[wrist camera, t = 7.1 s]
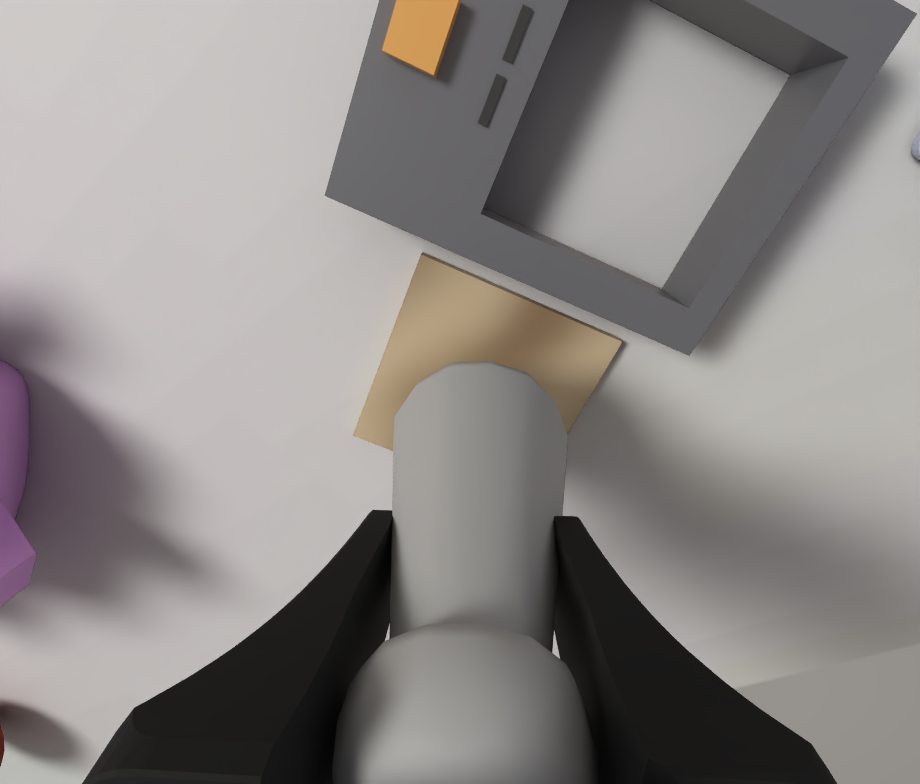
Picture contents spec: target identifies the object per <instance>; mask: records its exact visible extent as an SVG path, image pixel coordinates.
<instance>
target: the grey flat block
mask: <svg viewBox="0 0 920 784" xmlns="http://www.w3.org/2000/svg"><path fill="white" fill-rule="evenodd" d="M568 1H569V0H379V4H378V7H377V11H376V14H375V18H374V21H373V25H372V29H371V32H370V36H369V39H368V43H367V46H366V50H365V54H364V57H363V61H362V64H361V68H360V71H359V75H358V79H357V82H356V86H355V89H354V93H353V96H352V100H351V104H350V107H349V111H348V114H347V118H346V121H345V125H344V129H343V132H342V136H341V139H340V143H339V147H338V150H337V154H336V157H335V161H334V164H333V168H332V172H331V175H330V179H329V182H328V186H327V189H326V193H325V196H327V197H329V198H331V199H334V200H336V201H338V202H340V203H343V204H345V205H347V206H350V207H352V208H354V209H356V210H359V211H361V212H363V213H365V214H368V215H370V216H372V217H375V218H377V219H379V220H381V221H384V222H386V223H388V224H391V225H393V226H395V227H397V228H400V229H402V230H404V231H406V232H409V233H411V234H413V235H416V236H418V237H420V238H422V239H425V240H427V241H429V242H431V243H434V244H436V245H438V246H441V247H443V248H445V249H447V250H450V251H452V252H454V253H457V254H459V255H461V256H463V257H466V258H468V259H470V260H472V261H475V262H477V263H479V264H482V265H484V266H486V267H488V268H491V269H493V270H495V271H498V272H500V273H502V274H504V275H507V276H509V277H511V278H513V279H516V280H518V281H520V282H523V283H525V284H527V285H529V286H532V287H534V288H536V289H538V290H541V291H543V292H545V293H548V294H550V295H552V296H554V297H557V298H559V299H561V300H564V301H566V302H568V303H570V304H573V305H575V306H577V307H579V308H582V309H584V310H586V311H589V312H591V313H593V314H595V315H598V316H600V317H602V318H605V319H607V320H609V321H611V322H614V323H616V324H618V325H620V326H623V327H625V328H627V329H630V330H632V331H634V332H636V333H639V334H641V335H643V336H645V337H648V338H650V339H652V340H655V341H657V342H659V343H661V344H664V345H666V346H668V347H671V348H673V349H675V350H677V351H680V352H682V353H684V354H686V355H689V356H690V354H691V353H692V351H693V350H694V348H695V347H696V345H697V344H698V342H699V341H700V339H701V338H702V336H703V335H704V333H705V332H706V330H707V329H708V327H709V326H710V324H711V323H712V321H713V320H714V318H715V317H716V315H717V314H718V312H719V311H720V309H721V308H722V306H723V305H724V303H725V302H726V300H727V299H728V297H729V296H730V294H731V293H732V291H733V290H734V288H735V287H736V285H737V284H738V282H739V281H740V279H741V278H742V276H743V275H744V273H745V272H746V270H747V269H748V267H749V265H750V264H751V262H752V261H753V259H754V258H755V256H756V255H757V253H758V252H759V250H760V249H761V247H762V246H763V244H764V243H765V241H766V240H767V238H768V237H769V235H770V234H771V232H772V231H773V229H774V228H775V226H776V225H777V223H778V222H779V220H780V219H781V217H782V216H783V214H784V213H785V211H786V210H787V208H788V207H789V205H790V204H791V202H792V201H793V199H794V198H795V196H796V195H797V193H798V192H799V190H800V189H801V187H802V186H803V184H804V183H805V181H806V180H807V178H808V177H809V175H810V174H811V172H812V171H813V169H814V168H815V166H816V165H817V163H818V162H819V160H820V159H821V157H822V156H823V154H824V153H825V151H826V150H827V148H828V147H829V145H830V144H831V142H832V141H833V139H834V138H835V136H836V135H837V133H838V132H839V130H840V129H841V127H842V126H843V124H844V123H845V121H846V120H847V118H848V117H849V115H850V114H851V112H852V111H853V109H854V108H855V106H856V105H857V103H858V102H859V100H860V99H861V97H862V96H863V94H864V93H865V91H866V90H867V88H868V87H869V85H870V84H871V82H872V81H873V79H874V78H875V76H876V75H877V73H878V72H879V70H880V69H881V67H882V66H883V64H884V63H885V61H886V60H887V58H888V57H889V55H890V54H891V52H892V51H893V49H894V48H895V46H896V45H897V43H898V42H899V40H900V39H901V37H902V36H903V34H904V33H905V31H906V30H907V28H908V27H909V25H910V23H911V22H912V20H913V19H914V17H915V16H916V14H917V13H915V12H913V11H911V10H909V9H908V8H906V7H904V6H902V5H901V4H899V3H897V2H895V1H894V0H650V1H652V2H654V3H656V4H658V5H660V6H662V7H664V8H666V9H667V10H669V11H671V12H673V13H675V14H677V15H679V16H681V17H682V18H684V19H686V20H688V21H690V22H692V23H694V24H696V25H698V26H699V27H701V28H703V29H705V30H707V31H709V32H711V33H713V34H715V35H716V36H718V37H720V38H722V39H724V40H726V41H728V42H730V43H732V44H733V45H735V46H737V47H739V48H741V49H743V50H745V51H747V52H749V53H750V54H752V55H754V56H756V57H758V58H760V59H762V60H764V61H766V62H767V63H769V64H771V65H773V66H775V67H777V68H779V69H781V70H783V71H784V72H786V73H788V74H790V77H789V79H788V80H787V82H786V84H785V85H784V87H783V89H782V90H781V92H780V94H779V95H778V97H777V99H776V100H775V102H774V104H773V105H772V107H771V109H770V110H769V112H768V114H767V115H766V117H765V119H764V120H763V122H762V124H761V125H760V127H759V129H758V130H757V132H756V134H755V135H754V137H753V139H752V140H751V142H750V144H749V145H748V147H747V149H746V150H745V152H744V154H743V155H742V157H741V159H740V160H739V162H738V164H737V165H736V167H735V169H734V170H733V172H732V174H731V175H730V177H729V179H728V180H727V182H726V183H725V185H724V187H723V188H722V190H721V192H720V193H719V195H718V197H717V198H716V200H715V202H714V203H713V205H712V207H711V208H710V210H709V212H708V213H707V215H706V217H705V218H704V220H703V222H702V223H701V225H700V227H699V228H698V230H697V232H696V233H695V235H694V237H693V238H692V240H691V242H690V243H689V245H688V247H687V248H686V250H685V252H684V253H683V255H682V257H681V258H680V260H679V262H678V263H677V265H676V267H675V268H674V270H673V272H672V273H671V275H670V277H669V278H668V280H667V282H666V283H665V285H664V287H663V288H662V289H661V288H659V287H656V286H654V285H652V284H650V283H648V282H645V281H643V280H641V279H639V278H637V277H634V276H632V275H630V274H628V273H626V272H623V271H621V270H619V269H617V268H615V267H612V266H610V265H608V264H606V263H604V262H601V261H599V260H597V259H595V258H593V257H590V256H588V255H586V254H584V253H582V252H579V251H577V250H575V249H573V248H571V247H568V246H566V245H564V244H562V243H560V242H557V241H555V240H553V239H551V238H548V237H546V236H544V235H542V234H540V233H537V232H535V231H533V230H531V229H529V228H526V227H524V226H522V225H520V224H518V223H515V222H513V221H511V220H509V219H507V218H504V217H502V216H500V215H498V214H496V213H493V212H491V211H489V210H487V209H485V208H483V207H484V204H485V202H486V199H487V197H488V195H489V192H490V190H491V187H492V185H493V182H494V180H495V178H496V175H497V173H498V170H499V168H500V166H501V163H502V161H503V158H504V156H505V153H506V151H507V149H508V146H509V144H510V141H511V139H512V136H513V134H514V132H515V129H516V127H517V124H518V122H519V120H520V117H521V115H522V112H523V110H524V107H525V105H526V103H527V100H528V98H529V95H530V93H531V91H532V88H533V86H534V83H535V81H536V78H537V76H538V74H539V71H540V69H541V66H542V64H543V61H544V59H545V57H546V54H547V52H548V49H549V47H550V45H551V42H552V40H553V37H554V35H555V32H556V30H557V28H558V25H559V23H560V20H561V18H562V16H563V13H564V11H565V8H566V6H567V3H568Z"/></svg>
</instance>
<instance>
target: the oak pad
mask: <svg viewBox="0 0 920 784" xmlns="http://www.w3.org/2000/svg"><path fill="white" fill-rule="evenodd" d="M621 343H622V341H621V340H620V338H618V337H616V336H613V335H611V334H609V333H607V332H604V331H602V330H600V329H597V328H595V327H593V326H591V325H588V324H586V323H584V322H581V321H579V320H577V319H574V318H572V317H570V316H568V315H565V314H563V313H561V312H558V311H556V310H554V309H552V308H549V307H547V306H545V305H542V304H540V303H538V302H535V301H533V300H531V299H529V298H526V297H524V296H522V295H519V294H517V293H515V292H513V291H510V290H508V289H506V288H503V287H501V286H499V285H496V284H494V283H492V282H490V281H487V280H485V279H483V278H480V277H478V276H476V275H473V274H471V273H469V272H467V271H464V270H462V269H460V268H457V267H455V266H453V265H451V264H448V263H446V262H444V261H441V260H439V259H437V258H434V257H432V256H430V255H428V254H425V253H422V254H421V256H420V259H419V262H418V264H417V267H416V270H415V272H414V275H413V277H412V280H411V283H410V285H409V288H408V291H407V293H406V296H405V299H404V301H403V304H402V307H401V309H400V312H399V315H398V317H397V320H396V323H395V325H394V328H393V331H392V333H391V336H390V339H389V341H388V344H387V346H386V349H385V352H384V354H383V357H382V360H381V362H380V365H379V368H378V370H377V373H376V376H375V378H374V381H373V384H372V386H371V389H370V392H369V394H368V397H367V400H366V402H365V405H364V408H363V410H362V413H361V415H360V418H359V421H358V423H357V426H356V429H355V431H354V434H353V436H355V437H358V438H361V439H363V440H366V441H368V442H371V443H374V444H376V445H379V446H381V447H384V448H387V449H389V450H392V451H393V437H394V417H395V415H396V414H397V412H398V411H399V409H400V408H401V406H402V405H403V403H404V402H405V401H406V399H407V398H408V396H409V395H410V393H411V392H412V390H413V389H414V387H415V386H416V385H417V383H418V382H420V381H422V380H423V379H425V378H427V377H428V376H430V375H432V374H433V373H435V372H437V371H438V370H440V369H442V368H443V367H445V366H447V365H448V364H450V363H455V362H460V361H464V362H480V361H492V362H495V363H498V364H502V365H505V366H508V367H512V368H515V369H518V370H521V371H524V372H527V373H528V374H529V375H530V376H531V377H532V378H533V379H534V380H535V381H536V382H537V383H538V384H539V385H540V386H541V387H542V388H543V389H544V390H545V391H546V392H547V393H548V394H549V395H550V396H551V397H552V398H553V399H554V401H555V402H556V404H557V406H558V409H559V412H560V415H561V418H562V421H563V424H564V427H565V430H566V433H567V434H568V432H569V431H570V429H571V427H572V426H573V424H574V422H575V421H576V419H577V417H578V416H579V414H580V412H581V411H582V409H583V407H584V405H585V404H586V402H587V400H588V399H589V397H590V395H591V394H592V392H593V390H594V389H595V387H596V385H597V384H598V382H599V380H600V379H601V377H602V375H603V374H604V372H605V370H606V368H607V367H608V365H609V363H610V362H611V360H612V358H613V357H614V355H615V353H616V352H617V350H618V348H619V347H620V345H621Z"/></svg>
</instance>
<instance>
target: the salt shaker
mask: <svg viewBox="0 0 920 784" xmlns="http://www.w3.org/2000/svg"><path fill="white" fill-rule="evenodd" d="M567 448H568V436H567V433H566V430H565V427H564V424H563V421H562V418H561V415H560V412H559V409H558V406H557V404H556V402H555V401H554V399H553V398H552V397H551V396H550V395H549V394H548V393H547V392H546V391H545V390H544V389H543V388H542V387H541V386H540V385H539V384H538V383H537V382H536V381H535V380H534V379H533V378H532V377H531V376H530V375H529V374H528V373H527V372H524V371H521V370H518V369H515V368H512V367H508V366H505V365H502V364H498V363H495V362H492V361H480V362H464V361H460V362H455V363H450V364H448V365H447V366H445V367H443V368H442V369H440V370H438V371H437V372H435V373H433V374H432V375H430V376H428V377H427V378H425V379H423V380H422V381H420V382H418V383H417V385H416V386H415V387H414V389H413V390H412V392H411V393H410V395H409V396H408V398H407V399H406V401H405V402H404V403H403V405H402V406H401V408H400V409H399V411H398V412H397V414H396V415H395V417H394V437H393V500H392V516H393V519H392V547H391V595H390V639H389V640H386V641H384V642H383V643H382V644H381V645H380V646H379V648H378V649H377V650H376V651H375V652H374V653H373V654H372V655H371V656H370V658H369V659H368V660H367V661H366V662H365V663H364V664H363V665H362V667H361V668H360V669H359V671H358V672H357V674H356V675H355V677H354V678H353V680H352V681H351V683H350V684H349V687H348V690H347V693H346V696H345V700H344V703H343V706H342V709H341V712H340V715H339V718H338V721H337V728H336V737H335V747H334V757H333V767H332V776H333V784H598V752H597V748H596V743H595V739H594V735H593V730H592V726H591V722H590V717H589V713H588V711H587V708H586V706H585V704H584V701H583V699H582V696H581V694H580V692H579V689H578V687H577V684H576V682H575V680H574V678H573V676H572V674H571V672H570V670H569V668H568V667H567V665H566V663H564V662H563V661H562V660H560V659H559V658H558V657H556V656H555V655H554V654H553V653H552V648H553V635H554V621H555V608H556V595H557V581H558V568H559V563H558V556H557V547H556V537H555V527H554V516H562V514H563V501H564V488H565V474H566V461H567Z"/></svg>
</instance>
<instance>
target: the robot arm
mask: <svg viewBox="0 0 920 784" xmlns="http://www.w3.org/2000/svg"><path fill="white" fill-rule="evenodd" d="M912 153H913V156H915V157H916V158H917V159H919V160H920V133H919V134H918V135H917V137H916V138H915V140H914V142H913V144H912ZM392 519H393V516H392V511H389V510H372V511H371V512H370V513H369V514H368V515H367V517H366V518H365V519H364V521H363V522H362V523H361V525H360V526H359V527H358V528H357V530H356V531H355V532H354V533H353V535H352V536H351V537H350V538H349V540H348V541H347V542H346V543H345V544H344V546H343V547H342V548H341V549H340V550H339V551H338V553H337V554H336V555H335V556H334V557H333V558H332V559H331V561H330V562H329V563H328V564H327V565H326V566H325V567H324V568H323V569H322V570H321V571H320V573H319V574H318V575H317V576H316V577H315V578H314V579H313V580H312V581H311V582H310V583H309V584H308V585H307V586H306V587H305V588H304V589H303V590H302V591H301V592H300V593H299V594H298V595H297V596H296V597H295V598H294V599H292V600H291V601H290V602H289V603H288V604H287V605H286V606H285V607H284V608H283V609H281V610H280V611H279V612H278V613H277V614H276V615H275V616H273V617H272V618H271V619H270V620H269V621H267V622H266V623H265V624H264V625H262V626H261V627H260V628H259V629H257V630H256V631H255V632H253V633H252V634H251V635H250V636H248V637H247V638H246V639H244V640H243V641H242V642H240V643H239V644H238V645H236V646H235V647H234V648H232V649H231V650H229V651H228V652H226V653H225V654H223V655H222V656H220V657H219V658H218V659H216V660H215V661H213V662H212V663H210V664H208V665H207V666H205V667H204V668H202V669H201V670H199V671H198V672H196V673H194V674H193V675H191V676H189V677H188V678H186V679H185V680H183V681H181V682H179V683H178V684H176V685H174V686H172V687H171V688H169V689H167V690H165V691H164V692H162V693H160V694H158V695H157V696H155V697H153V698H151V699H150V700H148V701H146V702H144V703H142V704H140V705H139V706H137V707H135V708H134V709H133V710H132V711H131V713H130V714H129V716H128V717H127V718H126V719H125V721H124V722H123V723H122V725H121V726H120V727H119V729H118V730H117V731H116V733H115V734H114V736H113V737H112V739H111V740H110V742H109V743H108V745H107V746H106V748H105V750H104V751H103V753H102V754H101V756H100V757H99V759H98V760H97V762H96V763H95V765H94V766H93V768H92V769H91V771H90V772H89V774H88V776H87V777H86V779H85V780H84V782H83V783H82V784H333V776H332V767H333V757H334V747H335V737H336V728H337V721H338V718H339V715H340V712H341V709H342V706H343V703H344V700H345V696H346V693H347V690H348V687H349V684H350V683H351V681H352V680H353V678H354V677H355V675H356V674H357V672H358V671H359V669H360V668H361V667H362V665H363V664H364V663H365V662H366V661H367V660H368V659H369V658H370V656H371V655H372V654H373V653H374V652H375V651H376V650H377V649H378V648H379V646H380V645H381V644H382V643H383V642H384V641H385V638H386V634H387V630H388V627H389V623H390V595H391V547H392ZM554 527H555V537H556V547H557V556H558V563H559V568H558V581H557V595H556V608H555V621H554V631H555V635H556V640H557V645H558V650H559V655H560V660H562V661H563V662H564V663H566V665H567V667H568V668H569V670H570V672H571V674H572V676H573V678H574V680H575V682H576V684H577V687H578V689H579V692H580V694H581V696H582V699H583V701H584V704H585V706H586V708H587V711H588V713H589V717H590V722H591V726H592V730H593V735H594V739H595V743H596V748H597V752H598V784H837V783H836V781H835V779H834V778H833V776H832V775H831V773H830V771H829V770H828V768H827V767H826V765H825V764H824V762H823V761H822V759H821V758H820V757H819V755H818V754H817V752H816V750H815V749H814V747H813V746H812V744H811V743H809V742H808V741H806V740H805V739H804V738H802V737H800V736H799V735H798V734H796V733H795V732H793V731H792V730H790V729H789V728H787V727H786V726H784V725H783V724H781V723H780V722H778V721H777V720H775V719H774V718H772V717H771V716H770V715H768V714H766V713H765V712H764V711H762V710H761V709H759V708H758V707H757V706H755V705H754V704H753V703H751V702H750V701H749V700H747V699H746V698H745V697H743V696H742V695H741V694H740V693H738V692H737V691H736V690H734V689H733V688H732V687H730V686H729V685H728V684H727V683H725V682H724V681H723V680H722V679H720V678H719V677H718V676H717V675H715V674H714V673H713V672H712V671H711V670H710V669H709V668H707V667H706V666H705V665H704V664H703V663H702V662H700V661H699V660H698V659H697V658H696V657H695V656H693V655H692V654H691V653H690V652H689V651H688V650H687V649H685V648H684V647H683V646H682V645H681V644H680V643H679V642H678V641H677V640H676V639H675V638H674V637H673V636H672V635H671V634H670V633H669V632H668V631H667V630H666V629H665V628H664V627H663V626H662V625H661V624H660V623H659V622H658V621H657V620H656V619H655V618H654V617H653V616H652V614H651V613H650V612H649V611H648V610H647V609H646V608H645V607H644V606H643V604H642V603H641V602H640V601H639V600H638V599H637V597H636V596H635V595H634V594H633V593H632V592H631V590H630V589H629V588H628V587H627V585H626V584H625V583H624V582H623V580H622V579H621V578H620V577H619V575H618V574H617V573H616V571H615V570H614V569H613V567H612V566H611V565H610V563H609V562H608V561H607V559H606V558H605V557H604V555H603V554H602V552H601V551H600V549H599V548H598V547H597V545H596V544H595V542H594V541H593V539H592V538H591V536H590V535H589V533H588V531H587V530H586V528H585V527H584V525H583V523H582V522H581V520H580V519H579V518H578V517H574V516H554Z"/></svg>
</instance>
